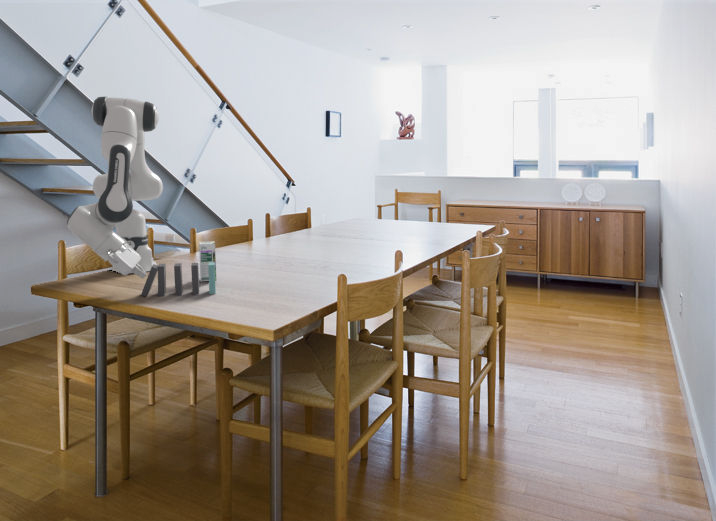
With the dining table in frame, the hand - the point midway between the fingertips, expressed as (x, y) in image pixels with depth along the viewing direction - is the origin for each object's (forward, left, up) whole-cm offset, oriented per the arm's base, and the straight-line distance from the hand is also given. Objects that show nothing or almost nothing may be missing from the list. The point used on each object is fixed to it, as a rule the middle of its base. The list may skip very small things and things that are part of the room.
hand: (145, 276), depth 191 cm
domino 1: (0, 0, -6) cm, 6 cm away
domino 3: (0, +11, -6) cm, 12 cm away
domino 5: (0, +22, -6) cm, 23 cm away
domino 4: (0, +16, -6) cm, 17 cm away
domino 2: (0, +5, -6) cm, 8 cm away
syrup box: (-20, +20, -7) cm, 29 cm away
